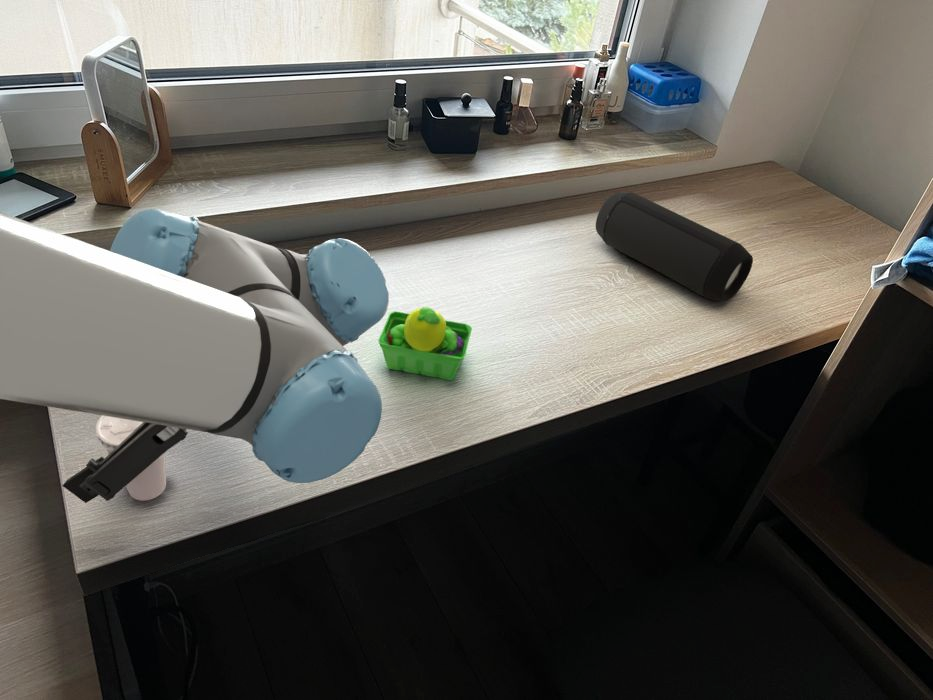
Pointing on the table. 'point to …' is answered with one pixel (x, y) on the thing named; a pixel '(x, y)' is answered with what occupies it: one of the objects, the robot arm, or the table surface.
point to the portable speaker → (674, 245)
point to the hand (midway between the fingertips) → (117, 442)
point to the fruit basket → (424, 343)
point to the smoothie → (147, 481)
